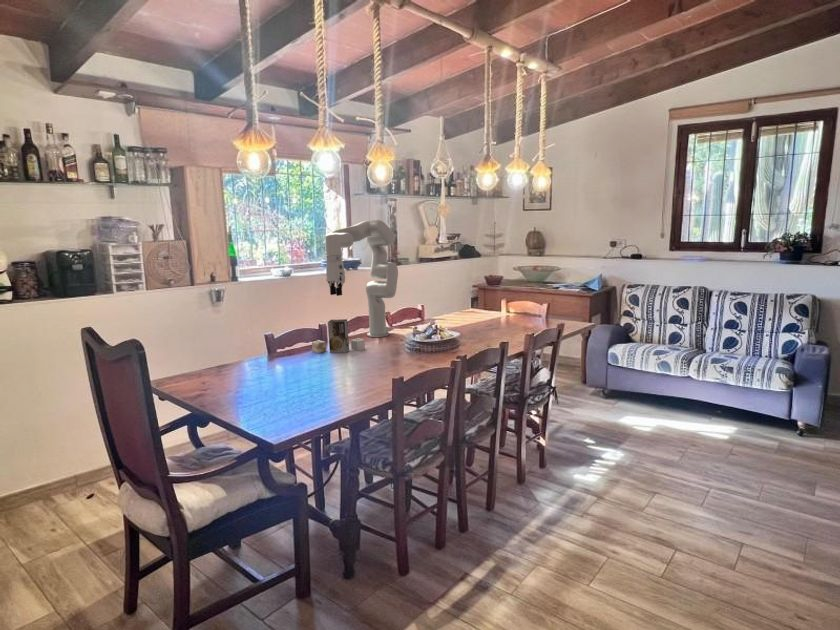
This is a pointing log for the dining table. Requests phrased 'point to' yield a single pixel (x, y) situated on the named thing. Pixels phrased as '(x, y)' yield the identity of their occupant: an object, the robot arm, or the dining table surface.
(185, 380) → the dining table surface
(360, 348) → the grey block marked
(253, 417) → the dining table surface
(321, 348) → the birch block marked
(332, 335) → the coffee box
